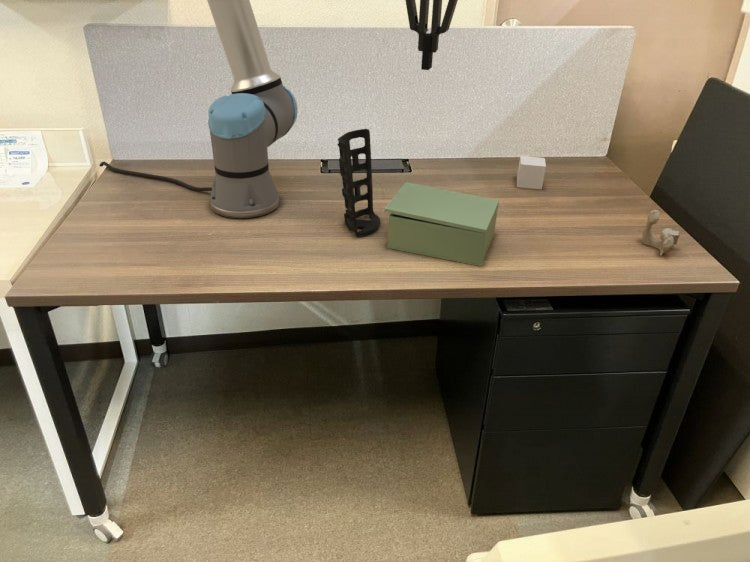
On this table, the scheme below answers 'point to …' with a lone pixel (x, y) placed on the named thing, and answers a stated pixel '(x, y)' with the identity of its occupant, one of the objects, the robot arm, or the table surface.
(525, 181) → the white cube
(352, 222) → the holder
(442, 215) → the lid
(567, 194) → the table surface
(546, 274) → the table surface
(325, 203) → the table surface
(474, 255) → the box
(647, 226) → the beige irregular piece
